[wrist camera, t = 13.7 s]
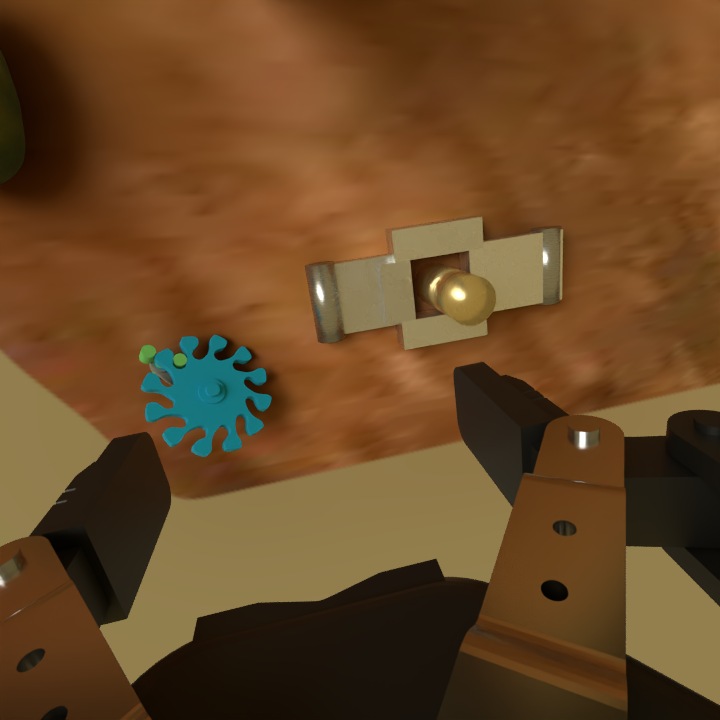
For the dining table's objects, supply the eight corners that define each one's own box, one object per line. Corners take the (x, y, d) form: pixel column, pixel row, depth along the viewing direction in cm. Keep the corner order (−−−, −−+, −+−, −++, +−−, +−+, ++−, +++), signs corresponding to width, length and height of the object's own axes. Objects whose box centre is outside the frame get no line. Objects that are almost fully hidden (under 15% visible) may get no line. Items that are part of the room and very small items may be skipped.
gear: (295, 384, 39) (225, 480, 33) (271, 403, 44) (206, 490, 38) (192, 299, 37) (97, 386, 31) (178, 329, 42) (93, 409, 36)
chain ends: (300, 242, 37) (301, 245, 34) (549, 204, 39) (567, 203, 37) (320, 356, 40) (322, 366, 38) (549, 314, 42) (565, 321, 40)
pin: (411, 265, 39) (446, 280, 31) (450, 259, 39) (495, 272, 31) (415, 304, 40) (450, 329, 32) (453, 298, 40) (497, 321, 32)
